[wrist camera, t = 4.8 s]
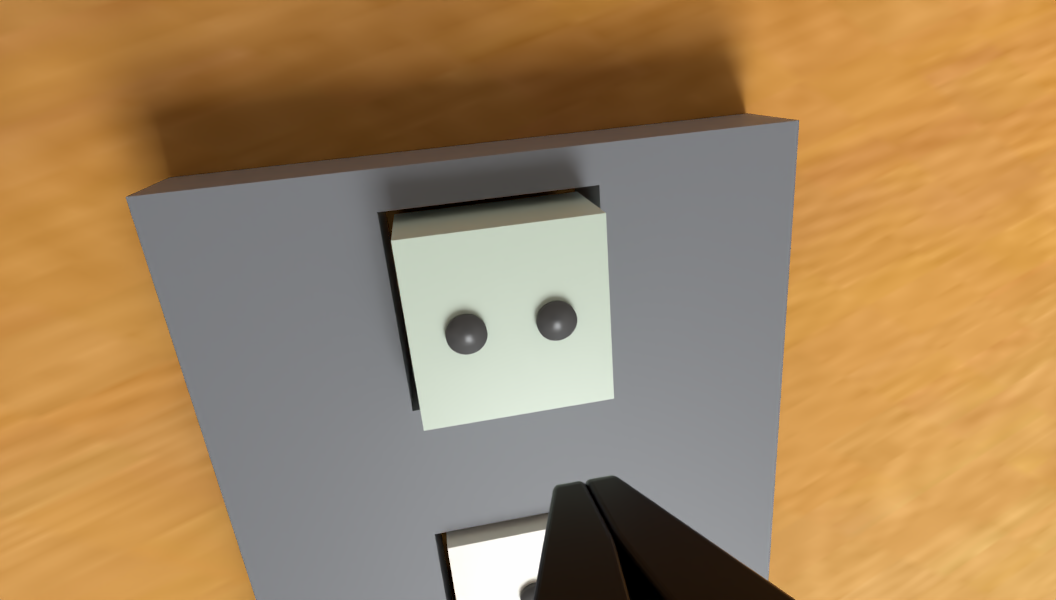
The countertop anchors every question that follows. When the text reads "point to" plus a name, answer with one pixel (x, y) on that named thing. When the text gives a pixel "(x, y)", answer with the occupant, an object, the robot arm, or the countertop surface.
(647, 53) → the countertop surface
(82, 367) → the countertop surface
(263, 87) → the countertop surface
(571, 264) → the two-dot button
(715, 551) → the robot arm
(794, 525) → the countertop surface
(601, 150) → the button board
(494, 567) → the one-dot button
